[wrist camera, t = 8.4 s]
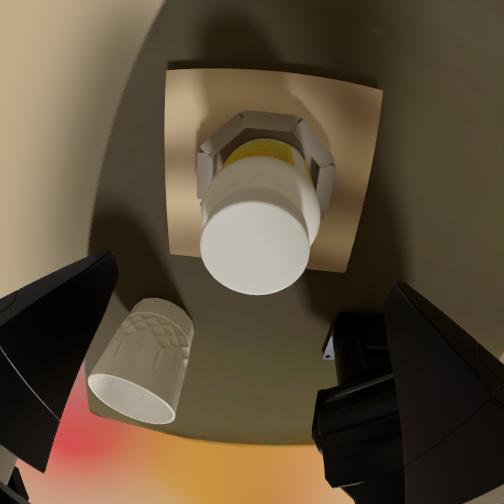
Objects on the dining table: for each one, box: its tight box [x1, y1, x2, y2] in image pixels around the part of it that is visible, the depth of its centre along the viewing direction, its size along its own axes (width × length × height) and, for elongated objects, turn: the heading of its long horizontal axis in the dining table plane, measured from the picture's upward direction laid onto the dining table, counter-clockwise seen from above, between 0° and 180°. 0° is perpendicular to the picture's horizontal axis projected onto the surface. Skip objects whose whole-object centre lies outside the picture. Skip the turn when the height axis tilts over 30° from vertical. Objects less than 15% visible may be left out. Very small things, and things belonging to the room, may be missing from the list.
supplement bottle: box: [200, 136, 320, 295], centre depth 14 cm, size 5×5×10 cm
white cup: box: [88, 298, 194, 424], centre depth 24 cm, size 8×8×10 cm
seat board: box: [165, 69, 383, 273], centre depth 18 cm, size 14×14×2 cm
